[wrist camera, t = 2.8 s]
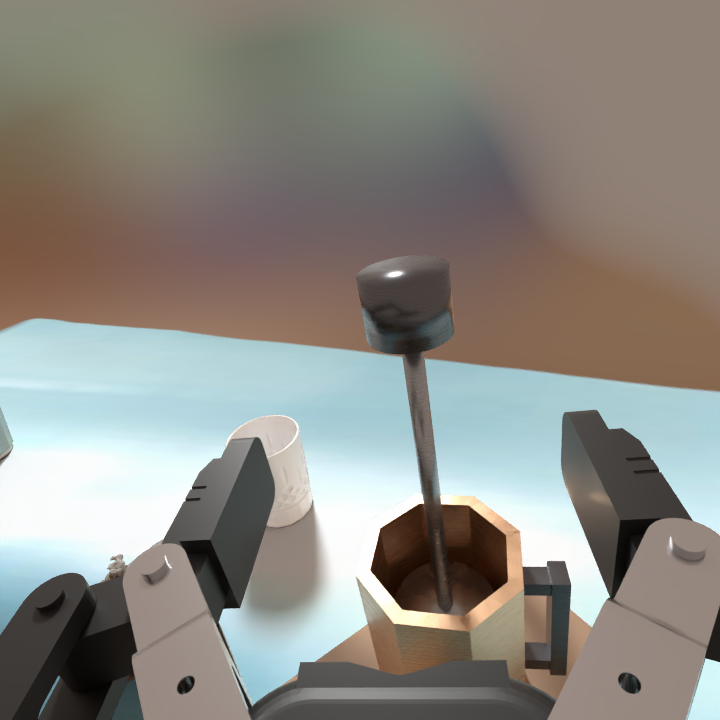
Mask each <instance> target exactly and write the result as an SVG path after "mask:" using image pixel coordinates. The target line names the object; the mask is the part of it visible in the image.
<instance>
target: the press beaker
mask: <svg viewBox="0 0 720 720" xmlns="http://www.w3.org/2000/svg"><path fill="white" fill-rule="evenodd" d="M441 504H442V512H443V521H444V529H445V538H446V546H447V555H448V561H454V562H458V563H462V564H465V565H467V566H469V567H471V568H473V569H475V570H476V571H478V572H479V573H480V574H481V575H482V576H483V577H484V578H485V579H486V580H487V581H488V583H489V584H490V585H491V587H492V589H493V591H494V593H493V594H492V595H490V596H489V597H488V598H487V599H485V600H484V601H483V602H481V603H480V604H479V605H478V606H476V607H475V608H474V609H472V610H471V611H470V612H469V613H467V614H466V615H465V616H456V615H446V614H437V613H427V612H417V611H407V610H402V609H401V608H400V607H399V605H398V604H397V603H396V596H397V592H398V590H399V587H400V585H401V584H402V582H403V581H404V579H405V578H406V577H407V576H408V575H409V574H410V573H411V572H412V571H414V570H415V569H417V568H418V567H420V566H422V565H424V564H427V563H431V555H430V548H429V540H428V533H427V526H426V519H425V512H424V505H423V498H422V495H418V494H416V495H414V496H412V497H411V498H409V499H408V500H406V501H404V502H403V503H401V504H399V505H398V506H396V507H395V508H393V509H391V510H390V511H388V512H386V513H385V514H383V515H382V516H380V517H378V518H377V519H375V520H373V521H372V522H370V523H369V525H368V529H367V532H366V536H365V540H364V544H363V548H362V551H361V555H360V559H359V563H358V567H357V570H356V578H357V582H358V586H359V590H360V594H361V598H362V602H363V606H364V610H365V614H366V618H367V622H368V626H369V630H370V634H371V638H372V642H373V646H374V650H375V654H376V658H377V662H378V666H379V670H380V671H384V672H387V673H391V674H395V675H404V674H408V673H412V672H415V671H419V670H422V669H426V668H429V667H433V666H436V665H440V664H443V663H447V662H450V661H466V660H506V661H507V667H508V673H509V678H512V679H516V680H520V681H522V682H525V669H543V670H549V672H550V675H560V676H566V672H567V653H568V634H569V615H570V597H571V583H570V579H569V575H568V571H567V568H566V564H565V561H547V567H522V555H521V541H520V531H519V530H517V529H516V528H515V527H513V526H512V525H511V524H509V523H508V522H507V521H506V520H504V519H503V518H502V517H500V516H499V515H498V514H496V513H495V512H494V511H492V510H491V509H490V508H488V507H487V506H486V505H484V504H483V503H482V502H481V501H479V500H478V499H477V498H475V497H472V496H445V495H441ZM524 595H528V596H546V643H540V642H525V628H524Z"/></svg>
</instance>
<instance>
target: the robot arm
mask: <svg viewBox="0 0 720 720" xmlns="http://www.w3.org/2000/svg"><path fill="white" fill-rule="evenodd" d="M561 467H562V474H563V478H564V482H565V485H566V488H567V490H568V493H569V495H570V498H571V500H572V503H573V505H574V508H575V510H576V513H577V515H578V518H579V520H580V523H581V525H582V528H583V530H584V533H585V535H586V538H587V540H588V543H589V545H590V548H591V550H592V553H593V555H594V558H595V561H596V563H597V566H598V568H599V571H600V573H601V576H602V578H603V581H604V583H605V586H606V588H607V591H608V593H609V596H610V598H608V599H607V600H606V602H605V603H604V605H603V607H602V609H601V611H600V613H599V615H598V617H597V619H596V621H595V623H594V625H593V627H592V629H591V631H590V633H589V635H588V637H587V639H586V641H585V643H584V645H583V648H582V650H581V652H580V654H579V656H578V658H577V660H576V662H575V664H574V666H573V668H572V670H571V672H570V674H569V676H568V678H567V680H566V682H565V684H564V687H563V689H562V691H561V693H560V695H559V697H558V699H557V700H556V699H555V698H553V697H552V696H550V695H549V694H548V693H546V692H544V691H542V690H540V689H538V688H536V687H535V686H532V685H530V684H527V683H525V682H522V681H520V680H516V679H512V678H509V673H508V667H507V661H506V660H466V661H450V662H447V663H443V664H440V665H436V666H433V667H429V668H426V669H422V670H419V671H415V672H412V673H408V674H404V675H395V674H391V673H387V672H384V671H380V670H377V669H373V668H369V667H366V666H362V665H358V664H355V663H351V662H300V667H299V672H298V678H297V680H296V681H292V682H290V683H287V684H285V685H283V686H280V687H279V688H277V689H275V690H273V691H272V692H270V693H268V694H267V695H266V696H264V697H263V698H261V699H260V700H259V701H257V702H256V703H255V704H253V702H252V700H251V698H250V695H249V693H248V691H247V688H246V686H245V684H244V681H243V679H242V676H241V674H240V671H239V669H238V667H237V664H236V662H235V659H234V657H233V655H232V652H231V650H230V647H229V645H228V642H227V640H226V638H225V635H224V633H223V630H222V628H221V626H220V624H219V619H220V616H221V613H222V610H223V609H226V608H240V606H241V603H242V600H243V597H244V594H245V591H246V588H247V584H248V581H249V578H250V575H251V572H252V569H253V566H254V563H255V559H256V556H257V553H258V550H259V547H260V544H261V541H262V538H263V534H264V531H265V528H266V525H267V522H268V519H269V516H270V513H271V509H272V506H273V503H274V499H275V482H274V478H273V475H272V472H271V469H270V466H269V462H268V459H267V456H266V453H265V450H264V447H263V444H262V441H261V440H260V438H259V437H252V438H240V439H231V440H230V441H229V443H228V445H227V447H226V449H225V451H224V453H223V455H222V457H221V458H219V459H213V460H212V461H211V462H210V463H209V464H208V465H207V466H206V467H205V468H204V469H203V470H202V471H200V473H199V474H198V476H197V478H196V480H195V482H194V484H193V486H192V490H190V491H189V493H188V495H187V497H186V501H185V502H183V504H182V506H181V508H180V510H179V512H178V514H177V516H176V517H175V519H174V521H173V523H172V525H171V527H170V529H169V530H168V532H167V534H166V536H165V538H164V540H163V542H162V543H161V545H158V546H155V547H152V548H150V549H148V550H147V551H145V552H143V553H142V554H141V555H139V556H138V557H137V558H136V559H135V560H134V561H133V562H132V563H131V564H130V565H129V567H128V568H127V570H126V572H125V574H124V575H122V576H120V577H116V578H113V579H110V580H107V581H104V582H101V583H98V584H95V585H92V586H89V585H88V583H87V582H86V580H85V578H84V577H83V576H82V575H80V574H77V573H67V574H62V575H59V576H56V577H54V578H52V579H50V580H48V581H46V582H45V583H43V584H42V585H40V586H39V587H38V588H36V589H35V590H34V591H33V592H32V593H31V594H30V595H29V596H28V597H27V598H26V599H25V600H24V602H23V603H22V605H21V606H20V607H19V609H18V610H17V612H16V613H15V615H14V616H13V618H12V619H11V621H10V622H9V623H8V625H7V626H6V628H5V629H4V631H3V632H2V634H1V635H0V720H111V718H112V716H113V714H114V711H115V709H116V706H117V704H118V702H119V699H120V697H121V694H122V692H123V690H124V687H125V685H126V682H127V680H128V678H129V675H132V674H134V675H135V679H136V684H137V689H138V694H139V699H140V704H141V708H142V713H143V718H144V720H688V716H689V713H690V709H691V706H692V703H693V699H694V696H695V692H696V689H697V685H698V682H699V679H700V675H701V672H702V668H703V665H704V662H705V658H707V659H710V660H714V661H717V662H720V536H719V535H718V534H717V533H716V532H714V531H713V530H711V529H710V528H708V527H706V526H704V525H702V524H699V523H697V522H694V521H693V520H692V519H691V517H690V516H689V514H688V513H687V511H686V510H685V508H684V507H683V505H682V504H681V502H680V501H679V499H678V498H677V496H676V495H675V493H674V492H673V490H672V488H671V487H670V485H669V484H668V482H667V481H666V479H665V478H664V476H663V475H662V473H659V469H658V467H657V466H656V464H655V463H654V461H653V460H651V458H650V455H649V454H648V452H647V451H646V449H645V448H644V446H643V444H642V443H641V441H639V440H638V439H637V438H635V437H634V436H632V435H631V434H630V433H628V432H627V431H625V430H624V429H623V428H620V429H608V427H607V426H606V424H605V422H604V421H603V419H602V417H601V416H600V414H599V412H598V411H597V410H588V411H576V412H565V413H564V414H563V421H562V448H561ZM58 675H59V676H60V679H59V681H58V683H57V685H56V687H55V689H54V690H53V692H52V694H51V696H50V698H49V700H48V702H47V704H46V705H45V707H44V709H43V711H42V713H41V715H40V717H39V719H38V716H39V712H40V709H41V707H42V705H43V703H44V701H45V699H46V697H47V695H48V694H49V692H50V690H51V688H52V686H53V684H54V683H55V681H56V679H57V677H58Z"/></svg>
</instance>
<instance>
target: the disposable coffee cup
mask: <svg viewBox="0 0 720 720" xmlns="http://www.w3.org/2000/svg"><path fill="white" fill-rule="evenodd" d="M12 442H13V439H12V437H11V434H10V432H9V429H8V426H7V424H6V421H5V418H4V416H3V413H2V410H1V408H0V459H1V458H3V457H4V456H6V455H7V454H8V453H9V452H10V451H11V450H12V448H13V444H12Z"/></svg>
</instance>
